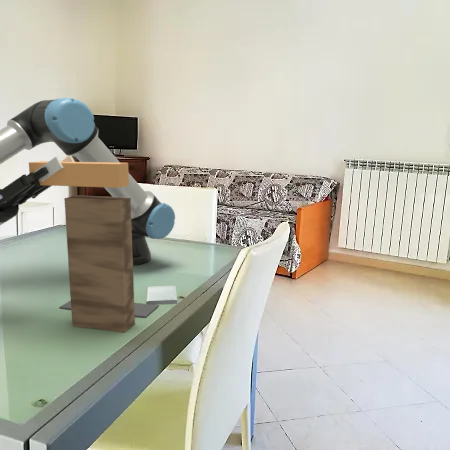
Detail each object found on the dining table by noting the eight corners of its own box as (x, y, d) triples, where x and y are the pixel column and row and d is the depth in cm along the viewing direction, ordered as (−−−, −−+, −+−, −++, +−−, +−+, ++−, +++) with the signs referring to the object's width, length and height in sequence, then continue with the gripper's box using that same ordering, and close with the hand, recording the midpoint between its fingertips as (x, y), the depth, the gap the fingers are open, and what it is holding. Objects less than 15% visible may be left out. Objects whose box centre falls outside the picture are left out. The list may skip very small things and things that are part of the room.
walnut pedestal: (84, 318, 113) (77, 195, 108) (134, 323, 110) (130, 197, 104) (72, 326, 109) (64, 198, 103) (125, 332, 105) (120, 200, 100)
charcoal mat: (76, 298, 127) (76, 296, 127) (158, 306, 121) (158, 305, 121) (59, 308, 119) (59, 307, 119) (145, 318, 113) (145, 316, 113)
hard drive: (177, 299, 123) (175, 284, 135) (146, 301, 122) (147, 286, 134) (177, 305, 123) (175, 290, 136) (146, 307, 122) (147, 291, 134)
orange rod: (43, 182, 109) (41, 161, 108) (129, 185, 103) (128, 162, 102) (30, 184, 105) (28, 162, 104) (119, 187, 99) (118, 164, 98)
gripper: (27, 217, 120) (95, 173, 112) (-25, 230, 103) (50, 180, 96) (12, 191, 119) (80, 145, 112) (-43, 200, 103) (32, 147, 95)
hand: (66, 161), depth 104 cm, fingers closed on orange rod, 4 cm apart
